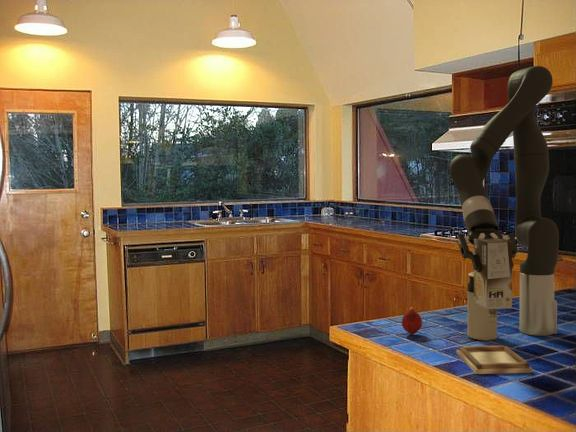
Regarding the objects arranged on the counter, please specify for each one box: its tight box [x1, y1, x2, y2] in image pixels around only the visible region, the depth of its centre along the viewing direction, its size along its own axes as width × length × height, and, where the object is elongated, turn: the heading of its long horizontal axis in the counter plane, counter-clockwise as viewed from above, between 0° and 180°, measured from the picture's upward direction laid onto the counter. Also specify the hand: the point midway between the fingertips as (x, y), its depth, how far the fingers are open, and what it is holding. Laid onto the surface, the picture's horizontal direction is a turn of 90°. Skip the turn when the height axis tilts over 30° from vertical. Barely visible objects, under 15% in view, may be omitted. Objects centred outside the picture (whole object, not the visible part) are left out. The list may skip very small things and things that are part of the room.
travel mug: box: [466, 271, 498, 341], centre depth 172 cm, size 8×8×18 cm
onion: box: [401, 306, 423, 336], centre depth 176 cm, size 6×6×8 cm
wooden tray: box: [456, 344, 533, 375], centre depth 150 cm, size 13×16×2 cm
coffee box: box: [473, 238, 513, 310], centre depth 148 cm, size 9×6×16 cm
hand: (494, 270), depth 147 cm, fingers closed on coffee box, 6 cm apart
